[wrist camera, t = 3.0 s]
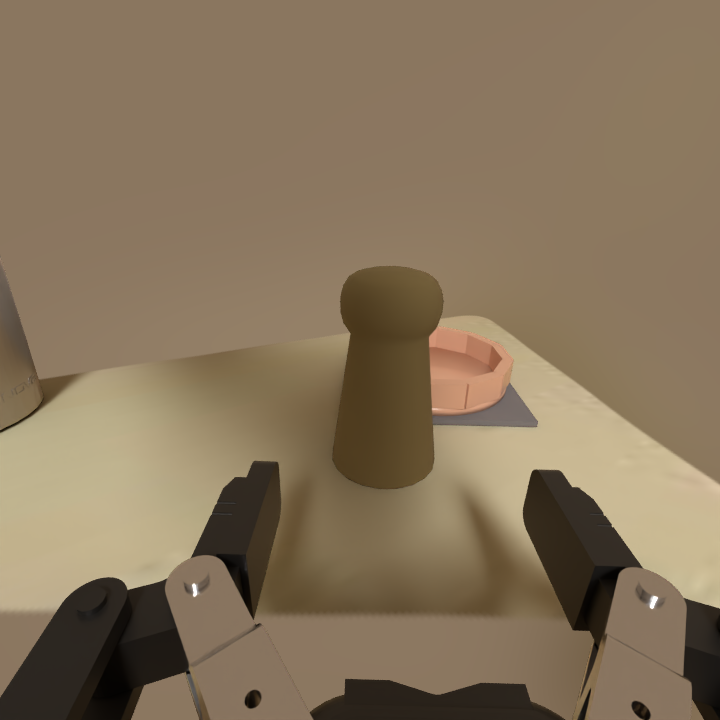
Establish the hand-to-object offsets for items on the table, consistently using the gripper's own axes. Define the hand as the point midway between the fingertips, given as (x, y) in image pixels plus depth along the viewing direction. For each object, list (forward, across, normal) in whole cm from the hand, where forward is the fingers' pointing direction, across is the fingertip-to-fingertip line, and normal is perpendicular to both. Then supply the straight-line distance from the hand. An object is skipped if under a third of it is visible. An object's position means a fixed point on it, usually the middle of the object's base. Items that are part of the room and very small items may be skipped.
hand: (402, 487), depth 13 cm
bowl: (+20, -4, +6) cm, 21 cm away
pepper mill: (+10, 0, +6) cm, 12 cm away
